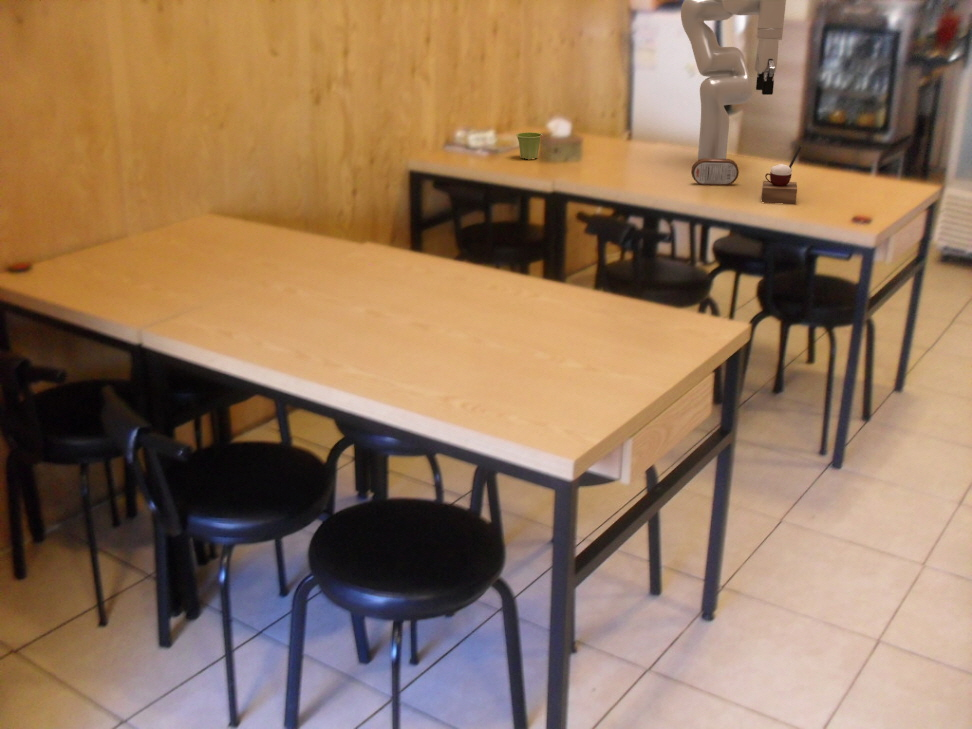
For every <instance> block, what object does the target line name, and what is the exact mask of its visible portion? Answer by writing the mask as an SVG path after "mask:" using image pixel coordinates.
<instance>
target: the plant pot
mask: <svg viewBox="0 0 972 729" xmlns="http://www.w3.org/2000/svg"><path fill="white" fill-rule="evenodd" d="M540 135H542V136H543V134H542V133H540V132H533V131H532V132H531V131H530V132H520V133H517V134H516V137H517V140H518V145H519V147H518V148H519V155H520V159H521V158H525V159H524V160H526V159H532V158H537V157H539V149H540V144H541V140H540ZM537 159H538V158H537Z"/></svg>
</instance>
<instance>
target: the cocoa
mask: <svg viewBox="0 0 972 729" xmlns="http://www.w3.org/2000/svg"><path fill="white" fill-rule="evenodd" d="M802 148H803V146H802V145H801V144H800V145H798V148H797V150H796V151H795V153H794V155H793V157H792V159H791V161H790V163H789V165H786V164H784V163H779V164H777V165H774V166H771V167H770V173H766V174H765V179H766V181H769V182H770V183H772V184H773V185H775V186H785V185H787V184H788V183H789V182H791V178H792V172H793V168H792V167H793V164H794V163H795V161H796V159H797V157H798V155H799V153H800V152H801V149H802ZM767 176H769V179H768V177H767Z"/></svg>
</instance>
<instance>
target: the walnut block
mask: <svg viewBox="0 0 972 729" xmlns="http://www.w3.org/2000/svg"><path fill="white" fill-rule="evenodd" d="M769 181H770V180H769ZM769 181H768V180H763V181H762V188H761V200H762V201H761V202H764V203H763V204H775V203H783V204H782V205H796V204H797V195H798V185H797V182H796V181H789V183H788V184H787V185H785V186H775V185H773V184H772V183H770V182H769Z"/></svg>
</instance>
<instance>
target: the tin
mask: <svg viewBox="0 0 972 729" xmlns="http://www.w3.org/2000/svg"><path fill="white" fill-rule="evenodd" d="M739 173H740V171H739V167H738V164H737V163H736V162H735V160H732V159H730V158H726V159H712V158H703V159H700V160H698V159H697V160H696V161H695V162H694V163H693V165H692V167H691V173H690V174H691V176H692V178H693V180H694V182H696V183H697V184H699V185H702V186H730V185H732V184H733V183H734V182H736V181H737V179H738V177H739Z"/></svg>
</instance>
